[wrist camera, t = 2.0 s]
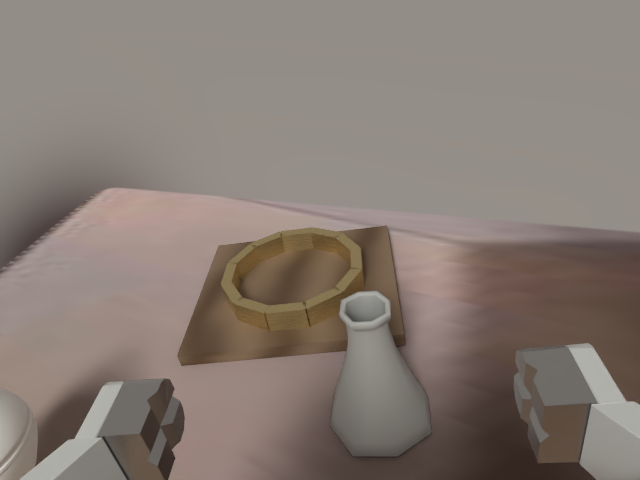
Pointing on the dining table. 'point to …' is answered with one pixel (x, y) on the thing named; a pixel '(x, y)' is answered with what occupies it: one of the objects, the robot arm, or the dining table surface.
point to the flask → (376, 384)
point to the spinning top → (16, 437)
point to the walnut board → (286, 302)
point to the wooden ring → (301, 311)
